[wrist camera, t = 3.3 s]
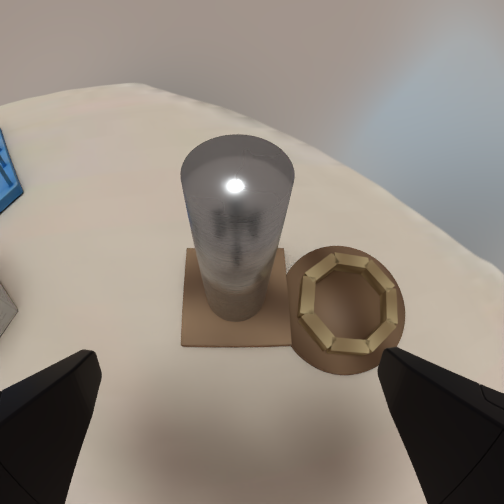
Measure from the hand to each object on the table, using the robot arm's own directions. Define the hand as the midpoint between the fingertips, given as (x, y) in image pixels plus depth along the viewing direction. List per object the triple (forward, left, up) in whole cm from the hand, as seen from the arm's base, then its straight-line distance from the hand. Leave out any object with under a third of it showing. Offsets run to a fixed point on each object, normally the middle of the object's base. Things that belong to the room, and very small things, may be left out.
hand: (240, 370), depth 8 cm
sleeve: (+4, +6, -12) cm, 14 cm away
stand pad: (+4, +6, -13) cm, 15 cm away
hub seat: (+11, 0, -13) cm, 17 cm away
